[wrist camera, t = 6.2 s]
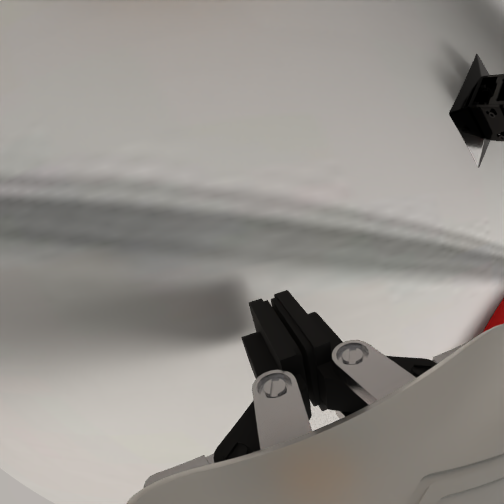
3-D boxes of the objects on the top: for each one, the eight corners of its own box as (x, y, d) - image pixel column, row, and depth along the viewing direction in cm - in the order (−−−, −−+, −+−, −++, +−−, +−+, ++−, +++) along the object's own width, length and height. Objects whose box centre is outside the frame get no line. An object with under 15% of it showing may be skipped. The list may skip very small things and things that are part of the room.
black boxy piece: (469, 32, 12) (510, 25, 8) (507, 101, 15) (545, 103, 10) (419, 122, 13) (481, 120, 9) (467, 202, 16) (517, 216, 12)
